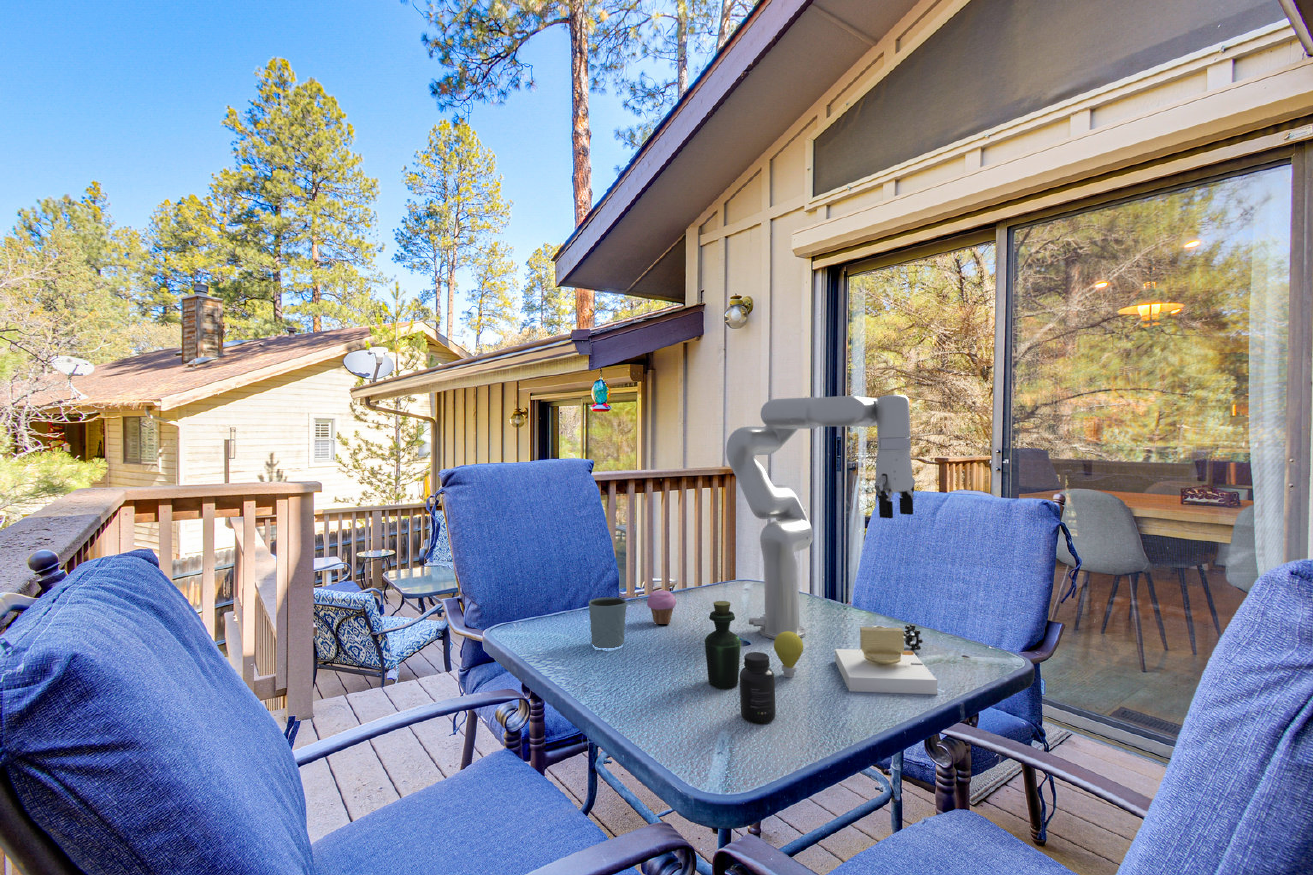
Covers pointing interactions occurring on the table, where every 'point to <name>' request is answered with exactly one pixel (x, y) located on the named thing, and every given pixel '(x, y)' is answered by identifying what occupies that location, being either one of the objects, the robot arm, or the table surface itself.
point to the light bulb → (788, 651)
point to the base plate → (884, 674)
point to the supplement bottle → (757, 689)
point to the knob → (883, 644)
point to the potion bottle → (722, 649)
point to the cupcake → (661, 606)
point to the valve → (911, 637)
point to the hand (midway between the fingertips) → (896, 515)
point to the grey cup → (607, 621)
